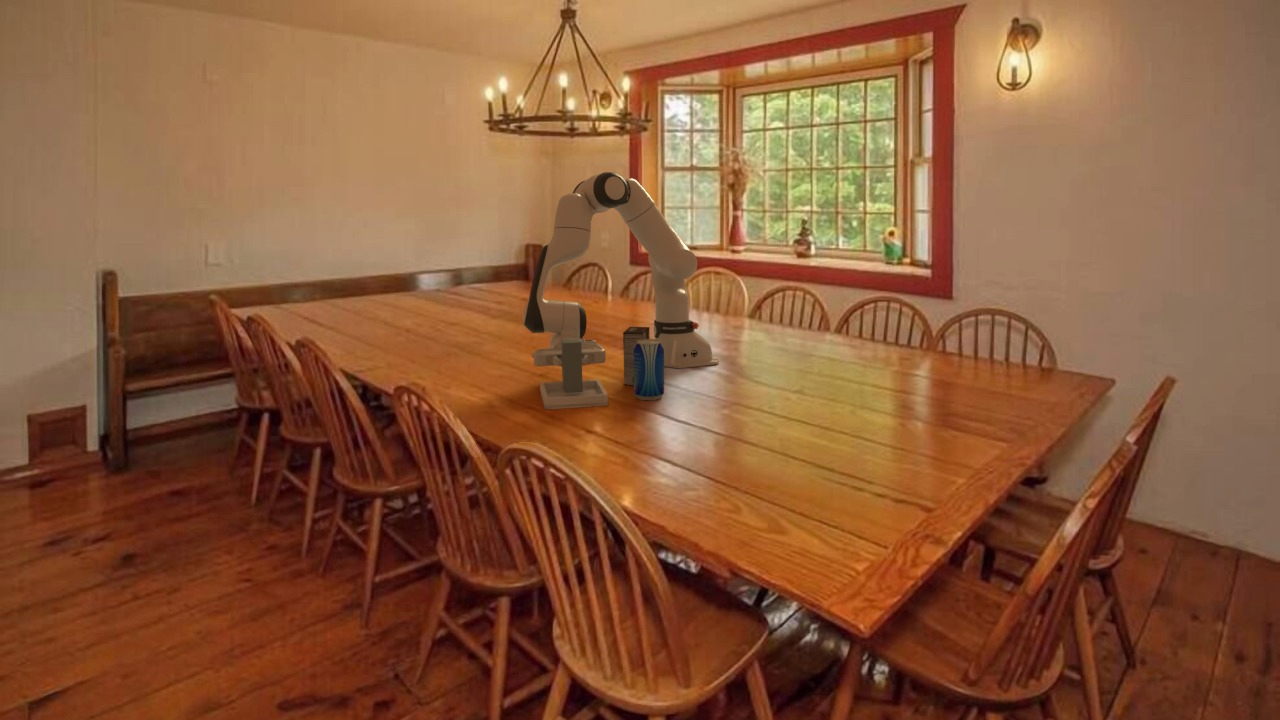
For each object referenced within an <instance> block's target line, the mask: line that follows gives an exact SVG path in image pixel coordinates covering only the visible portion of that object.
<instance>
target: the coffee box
mask: <svg viewBox="0 0 1280 720" xmlns="http://www.w3.org/2000/svg"><path fill="white" fill-rule="evenodd" d="M650 329H651V327H650V326H629V327H627V328H626V329H625V330H624V331H623V332H622V334H623V337H622V338H623V339H622V341H623V342H622V343H623V384H624V385H625V384H627V386H634V348H635V346H636V345H637V341H638V340H643V339H651V338H650Z"/></svg>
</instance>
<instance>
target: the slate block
mask: <svg viewBox="0 0 1280 720" xmlns="http://www.w3.org/2000/svg"><path fill="white" fill-rule="evenodd" d="M561 348H562V359H563V366H562V367H561V371H562V380H561V381H562V382H563V390H564V393H573V392H583V388H582V380H583V365H582V349H581V341H580V339H561Z"/></svg>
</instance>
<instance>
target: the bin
mask: <svg viewBox="0 0 1280 720" xmlns="http://www.w3.org/2000/svg"><path fill="white" fill-rule="evenodd" d="M539 387H540V388H539V389H540V395H541V400H542V403H543V407H544V408H543V409H544V410H546V411H547V410H560V409H576V408H589V407H590V408H591V406H594V407H604V406H605V407H606V406H609V398H608V397H609V395H608V393H607V391H606V389H605V388H604V385H602V382H601V380H600V379H599V378H598V379H587V380H586V379H582V388H583V392H573V393H564V390H563V381H549V382H540V383H539Z"/></svg>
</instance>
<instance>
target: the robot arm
mask: <svg viewBox="0 0 1280 720" xmlns="http://www.w3.org/2000/svg"><path fill="white" fill-rule="evenodd" d="M610 209H611V210H612V209H614V210H616V211H617V212H618V214H620V216H621V218H622V220H623V221H624V223H625V224H626V225H627V227H628V229H629V230H630V231H631V233H632V234H633V237H634V238H635V239H636V241H637V242H638V243H639V244H640V245H641V246H642V247H643V248H644V250H646V252H647V253H648V264H649V266H650V272H651V273H650V274H651V281H652V285H653V291H654V292H653V293H654V305H655V306H654V307H655V308H654V309H655V311H654V312H655V313H654V315H655V316H654V317H655V319H654V320H653V337H654V339H655V340H660V341H661V345H662V347H663V348H664V367H669V368H673V369H685V368H686V369H687V368H695V367H703V366H704V367H705V366H712V365H713V366H714V365H718V364H719V362H720V359H719V357H717V355H714V354H713V351H712V350H713V349H712V345H711V344H710V342H709V341H708V340H707V339H705V338H704V337H703V336H701V334H699V333H698V332H697V331H695V330H698V329H699V327H700V324H699V323H698V322H696V321H692V320H691V319H690V296H689V293H688V290H687V286H686V280H687V279H690V278H691V277H692V276H694V275H695V273H696V271H697V270H698V269H697V268H698V258H697V256H696V255H695V254H694V252H693V251H692V250H691V249H690V248H689V247H688V245H687V244H686V242H685V241H684V240H683V239H682V238H681V236H679V234H678V233H677V232H676V231H675V229H673V227H672V226H671V225H670V224H669V222H668V221H667V219H666V218H665V217H664V215H663V213H662V212H661V210H660V209H659V208H658V206H657V205H656V203H655V201H654V200H653V198H652V197H651V195H650V194H649V193H648V191H647V190H646V189H645V188H644V187H643V186H642V185H641V184H640V183H639V182H638V181H637V179H635V178H631V177H627V178H624V177H623V176H622V175H620V174H618V173H616V172H614V171H613V172H612V171H604V172H601V173H599V174H595V175H592V176H590V177H588V178H587V179H585V180H583V181H581V182H579V183H578V184H577V185H576V186H575V187H574V189H573V191H572V192H571V193H566V194H564V195H562V196H560V199H558V204H557V207H556V212H555V217H554V223H553V225H554V226H553V234H552V237H551V239H550V241H549V243H548V244H546V245H544V246H543V247H542V249H541V250H540V253H539V256H538V260H537V263H536V267H535V270H534V274H533V275H534V276H533V279H532V283H531V286H530V293H529V295H528V298H527V299H528V300H527V302H526V304H525V306H524V310H523V314H522V321H523V325H524V327H525V328H526V329H527V330H528V331H529V332H531V333H532V334H542V333H543V334H544V333H548V334H551V337H550V339H549V348H538V349H536V350H534V352H532V353H531V357H532V358H533V363H534V366H535V367H548V366H550V367H551V366H554V367H555V366H557V367H561V368H562V366H563V359H562V348H561V339H580V341H581V349H582V366H587V365H589V364H591V365H592V364H604V363H606V350H605V348H604V347H603V346H602V345H600V344H598V343H597V340H595V339H587V338H586V339H585V338H584V337H585V334H586V331H587V323H588V322H587V314H586V310H585V308H584V306H582V304H580V303H579V302H578V301H566V300H564V301H562V300H553V299H552V300H548V299H545V298H544V294H545V293H544V292H545V289H546V286H547V281H548V277H549V274H550V272H551V270H552V269H554V268H555V267H557V266H559V265H564V264H567V263H570V262H573V261H576V260H578V259H580V258H582V257H583V256H584V255H586V253H587V252H588V250H589V247H590V243H591V235H592V233H591V232H592V220H593V217H594V215H595V214H601V213H605V212H607V211H609V210H610Z"/></svg>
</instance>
